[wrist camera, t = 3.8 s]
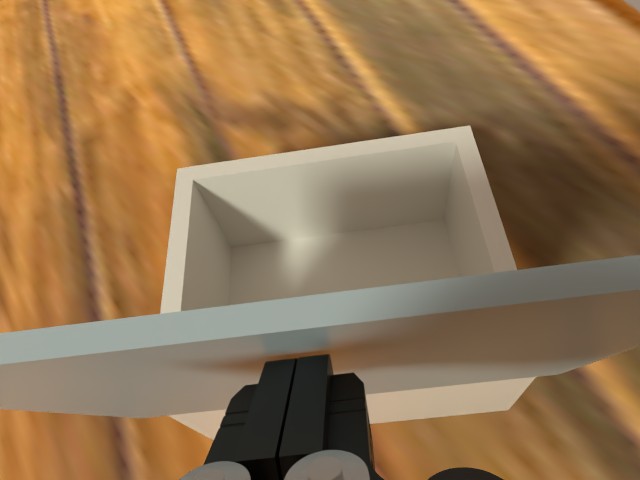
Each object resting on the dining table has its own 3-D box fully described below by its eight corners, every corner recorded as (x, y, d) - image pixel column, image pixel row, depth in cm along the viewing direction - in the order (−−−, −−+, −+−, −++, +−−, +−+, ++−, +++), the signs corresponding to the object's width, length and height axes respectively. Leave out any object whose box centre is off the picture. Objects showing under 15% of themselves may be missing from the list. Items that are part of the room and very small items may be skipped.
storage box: (455, 212, 40) (469, 125, 32) (508, 409, 32) (547, 362, 23) (221, 243, 42) (177, 168, 33) (212, 439, 33) (149, 405, 25)
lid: (873, 226, 8) (893, 260, 8) (554, 361, 23) (558, 374, 23) (-234, 362, 10) (-244, 393, 9) (143, 405, 25) (142, 418, 25)
